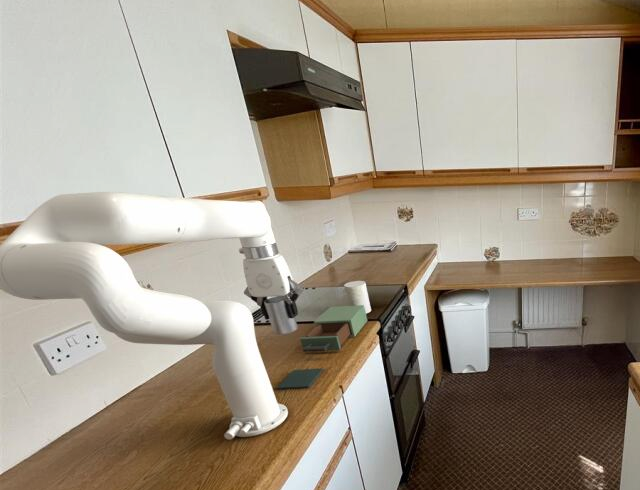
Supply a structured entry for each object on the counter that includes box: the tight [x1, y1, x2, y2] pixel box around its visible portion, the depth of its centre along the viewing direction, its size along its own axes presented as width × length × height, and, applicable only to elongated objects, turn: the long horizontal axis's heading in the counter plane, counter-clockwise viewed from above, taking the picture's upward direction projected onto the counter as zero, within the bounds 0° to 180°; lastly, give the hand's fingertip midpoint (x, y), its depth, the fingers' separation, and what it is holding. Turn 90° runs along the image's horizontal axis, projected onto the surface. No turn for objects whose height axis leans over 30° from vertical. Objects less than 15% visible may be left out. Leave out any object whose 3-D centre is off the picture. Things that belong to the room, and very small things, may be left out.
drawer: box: [299, 322, 352, 353], centre depth 137 cm, size 18×12×5 cm, turn 1°
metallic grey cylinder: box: [264, 296, 299, 335], centre depth 111 cm, size 6×6×9 cm
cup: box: [343, 280, 372, 315], centre depth 166 cm, size 8×8×12 cm
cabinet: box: [313, 305, 368, 338], centre depth 150 cm, size 15×13×7 cm
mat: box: [276, 368, 324, 390], centre depth 119 cm, size 10×9×1 cm
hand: (281, 316), depth 111 cm, fingers closed on metallic grey cylinder, 6 cm apart
